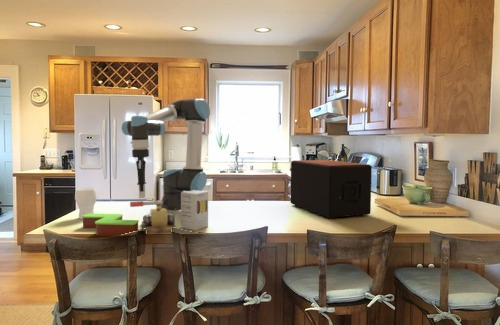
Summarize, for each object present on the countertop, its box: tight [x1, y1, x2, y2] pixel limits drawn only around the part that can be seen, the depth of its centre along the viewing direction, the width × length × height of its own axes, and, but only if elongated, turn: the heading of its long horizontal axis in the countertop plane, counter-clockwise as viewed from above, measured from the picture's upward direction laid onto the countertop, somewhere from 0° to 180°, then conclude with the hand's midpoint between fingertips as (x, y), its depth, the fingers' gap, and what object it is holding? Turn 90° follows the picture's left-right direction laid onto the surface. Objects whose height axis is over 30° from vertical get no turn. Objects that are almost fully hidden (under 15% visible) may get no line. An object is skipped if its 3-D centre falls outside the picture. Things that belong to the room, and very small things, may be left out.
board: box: [141, 220, 177, 235], centre depth 170 cm, size 14×20×2 cm
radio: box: [290, 159, 373, 220], centre depth 211 cm, size 45×27×28 cm, turn 21°
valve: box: [142, 205, 176, 227], centre depth 169 cm, size 14×6×10 cm, turn 110°
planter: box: [82, 213, 140, 237], centre depth 165 cm, size 30×18×6 cm, turn 86°
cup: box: [74, 187, 98, 220], centre depth 190 cm, size 11×11×15 cm
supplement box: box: [180, 190, 209, 231], centre depth 171 cm, size 10×9×17 cm
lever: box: [129, 199, 163, 208], centre depth 167 cm, size 14×4×2 cm, turn 113°
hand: (142, 197), depth 175 cm, fingers closed
